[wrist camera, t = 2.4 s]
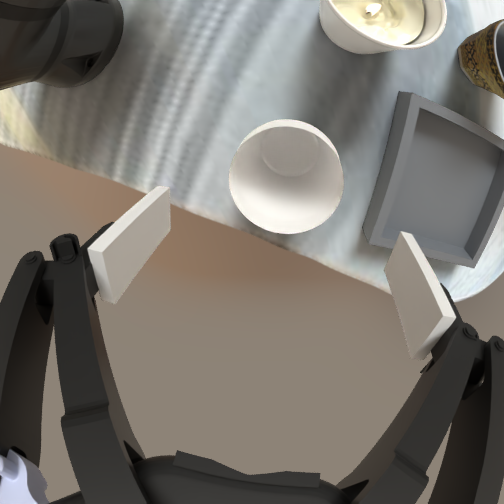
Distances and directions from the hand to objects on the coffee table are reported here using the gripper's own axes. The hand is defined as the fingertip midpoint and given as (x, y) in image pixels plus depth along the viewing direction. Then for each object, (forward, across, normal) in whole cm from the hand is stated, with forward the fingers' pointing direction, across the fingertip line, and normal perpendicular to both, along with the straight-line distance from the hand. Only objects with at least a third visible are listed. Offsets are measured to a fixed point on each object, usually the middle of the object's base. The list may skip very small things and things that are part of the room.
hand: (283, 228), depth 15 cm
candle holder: (+19, +5, +17) cm, 26 cm away
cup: (+19, 0, 0) cm, 19 cm away
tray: (+19, +20, +1) cm, 27 cm away
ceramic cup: (+19, +22, +20) cm, 35 cm away
